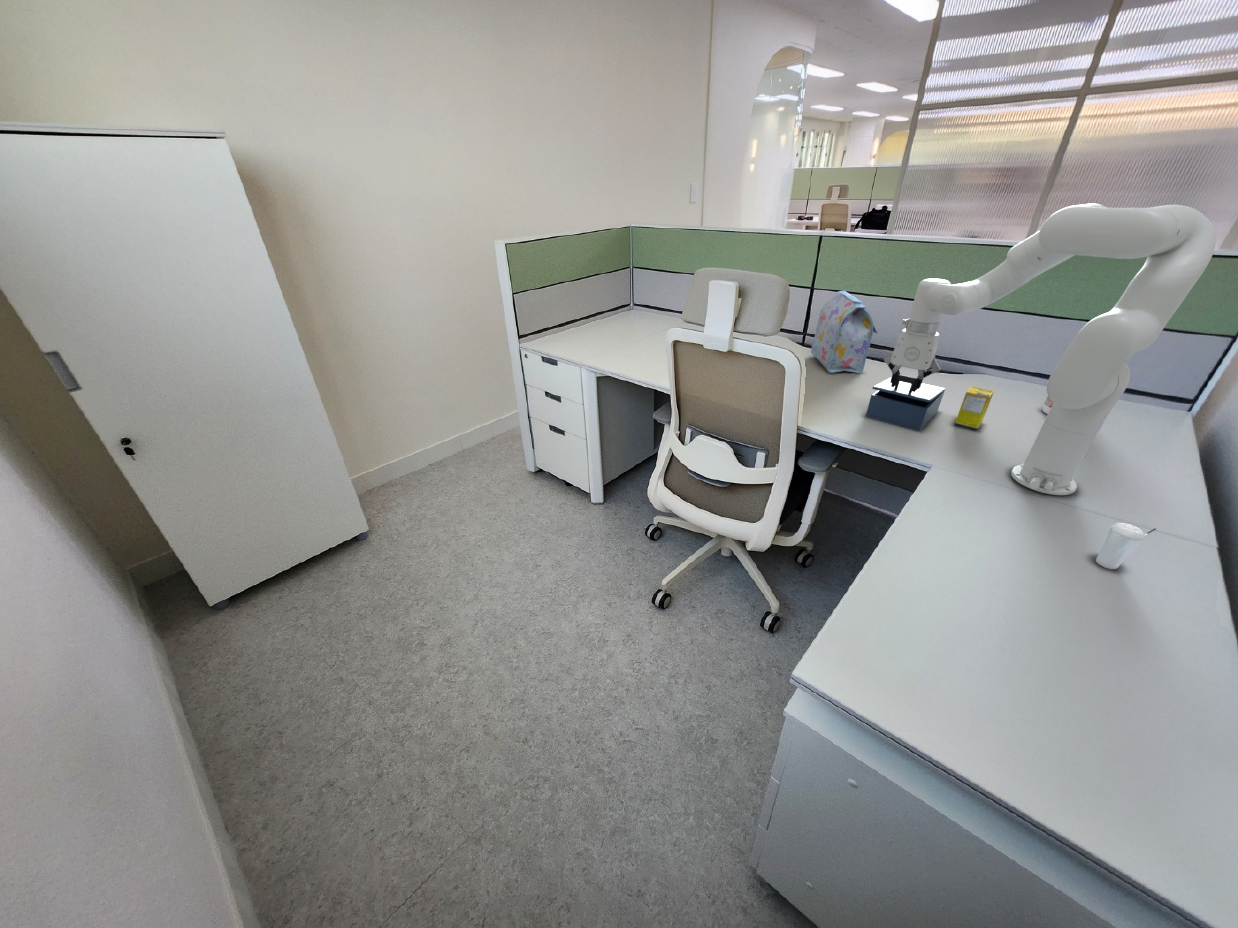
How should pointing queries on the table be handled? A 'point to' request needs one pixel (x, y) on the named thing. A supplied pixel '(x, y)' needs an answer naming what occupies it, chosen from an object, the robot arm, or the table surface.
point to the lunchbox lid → (909, 388)
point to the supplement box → (974, 408)
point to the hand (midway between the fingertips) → (904, 387)
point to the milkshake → (1119, 544)
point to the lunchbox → (902, 409)
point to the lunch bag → (843, 334)
